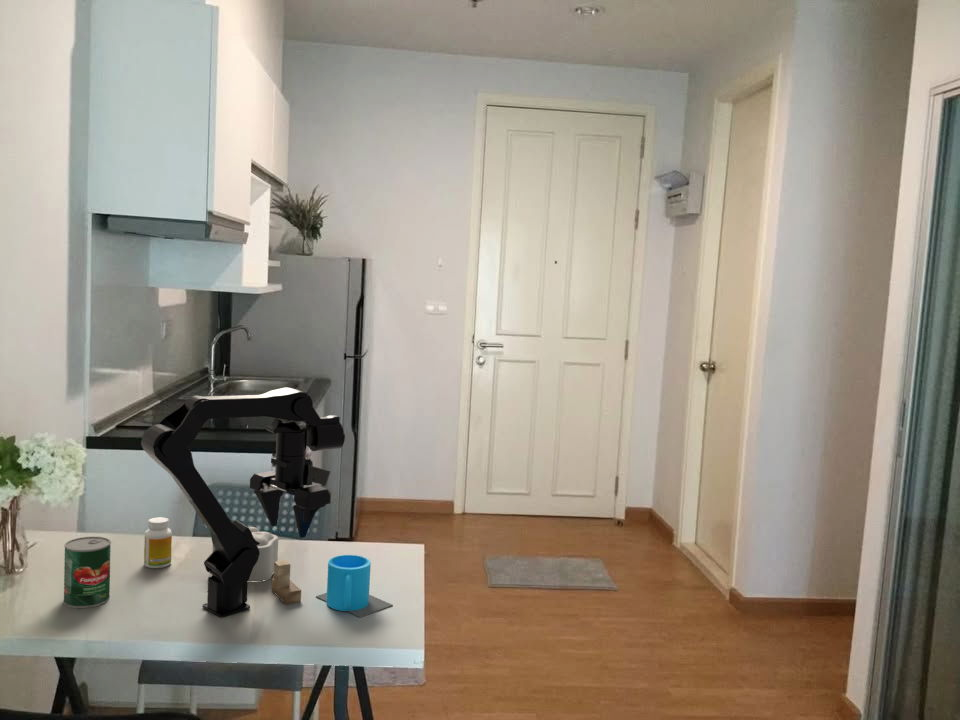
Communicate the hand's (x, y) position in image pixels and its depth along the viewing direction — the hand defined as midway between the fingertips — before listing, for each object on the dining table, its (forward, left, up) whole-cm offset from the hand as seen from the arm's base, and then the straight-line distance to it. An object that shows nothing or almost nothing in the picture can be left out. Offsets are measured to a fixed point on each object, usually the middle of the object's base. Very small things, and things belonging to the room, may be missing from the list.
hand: (288, 531), depth 164 cm
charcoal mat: (+8, -11, -13) cm, 19 cm away
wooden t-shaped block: (-1, 0, -13) cm, 13 cm away
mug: (+5, -12, -13) cm, 19 cm away
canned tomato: (-29, +22, -13) cm, 39 cm away
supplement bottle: (-10, +31, -13) cm, 35 cm away
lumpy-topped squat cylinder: (+1, +16, -13) cm, 21 cm away
